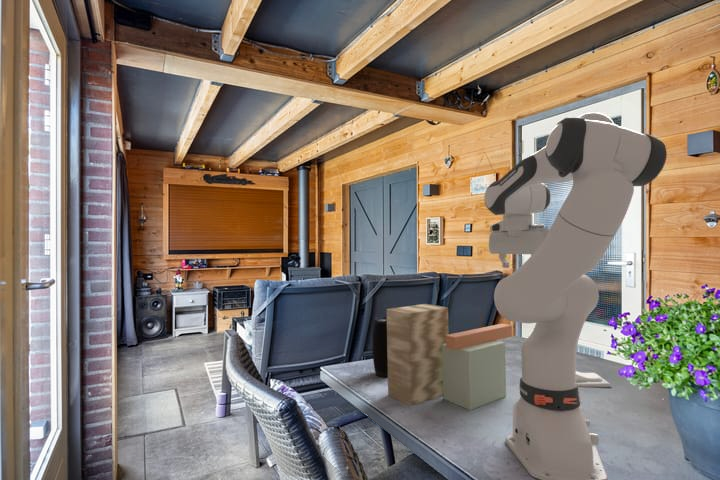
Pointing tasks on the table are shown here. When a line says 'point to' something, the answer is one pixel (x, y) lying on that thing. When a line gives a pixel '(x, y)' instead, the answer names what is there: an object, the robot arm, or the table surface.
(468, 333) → the salmon square-ended bar
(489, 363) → the sage green block
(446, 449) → the table surface
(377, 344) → the portable speaker
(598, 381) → the light switch
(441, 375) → the tower
